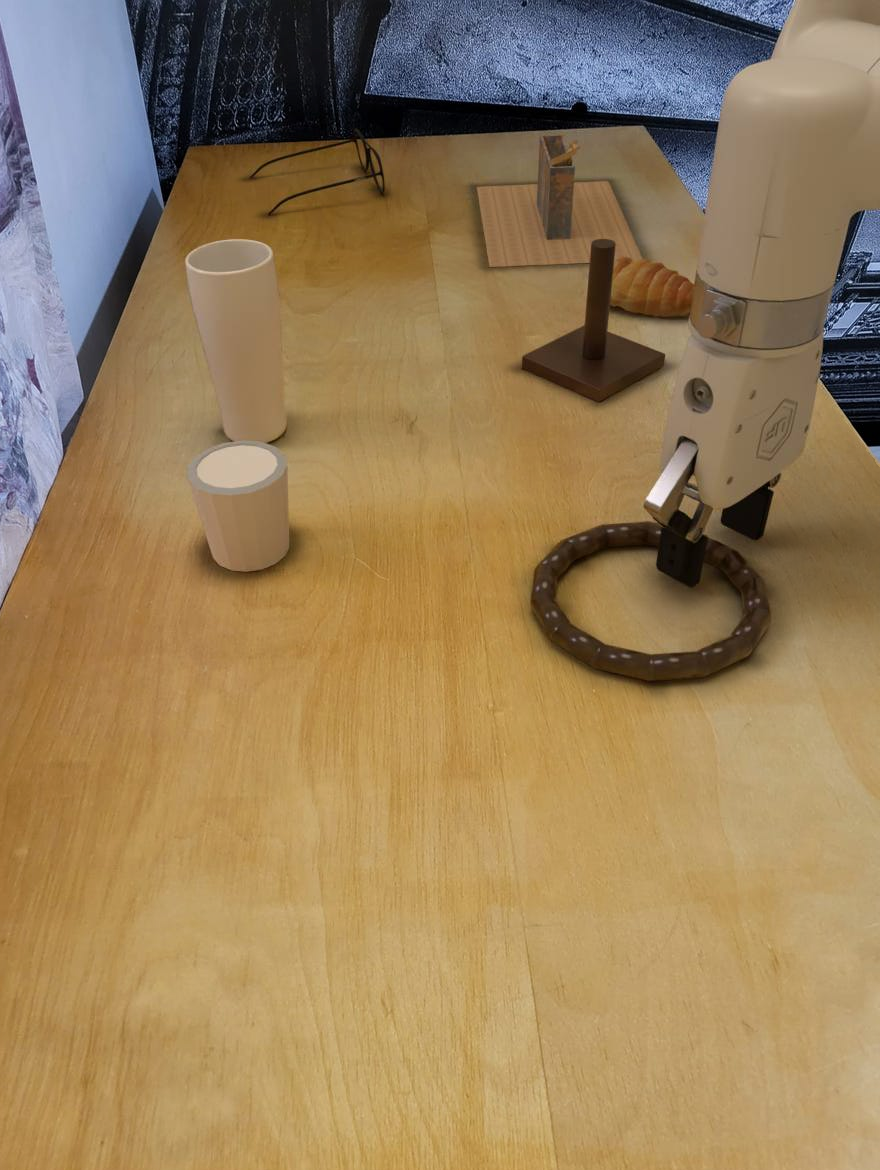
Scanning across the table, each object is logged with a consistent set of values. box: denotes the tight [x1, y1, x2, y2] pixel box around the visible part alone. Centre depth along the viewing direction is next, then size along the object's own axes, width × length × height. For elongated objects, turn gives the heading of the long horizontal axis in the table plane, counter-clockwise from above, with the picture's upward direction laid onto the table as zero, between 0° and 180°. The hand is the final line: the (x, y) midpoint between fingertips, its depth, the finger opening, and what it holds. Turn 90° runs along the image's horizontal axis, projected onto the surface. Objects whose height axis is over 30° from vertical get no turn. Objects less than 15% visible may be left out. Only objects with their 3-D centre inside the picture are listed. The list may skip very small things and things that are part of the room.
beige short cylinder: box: [186, 440, 290, 573], centre depth 73 cm, size 7×7×7 cm
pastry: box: [610, 256, 694, 318], centre depth 101 cm, size 9×7×4 cm
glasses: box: [249, 128, 386, 216], centre depth 131 cm, size 14×15×5 cm
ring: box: [530, 520, 772, 682], centre depth 68 cm, size 15×16×2 cm
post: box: [521, 239, 666, 403], centre depth 90 cm, size 9×9×11 cm
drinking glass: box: [184, 238, 288, 444], centre depth 83 cm, size 7×7×15 cm
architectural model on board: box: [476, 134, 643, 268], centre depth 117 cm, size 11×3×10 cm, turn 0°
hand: (710, 551), depth 72 cm, fingers open, 6 cm apart
